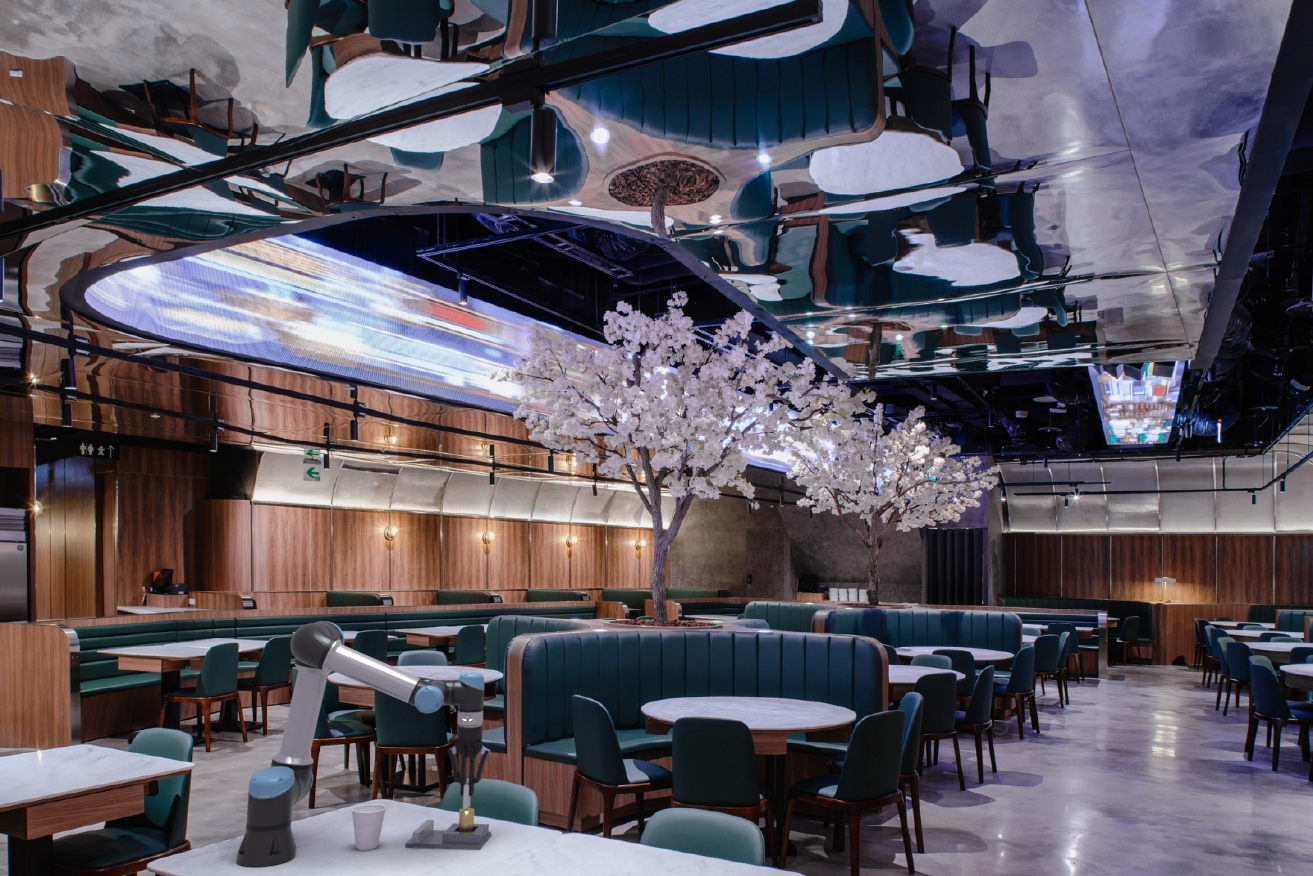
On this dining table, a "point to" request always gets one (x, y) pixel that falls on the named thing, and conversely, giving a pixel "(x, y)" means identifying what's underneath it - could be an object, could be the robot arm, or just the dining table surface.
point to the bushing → (466, 820)
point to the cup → (367, 825)
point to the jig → (448, 837)
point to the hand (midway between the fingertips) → (466, 807)
